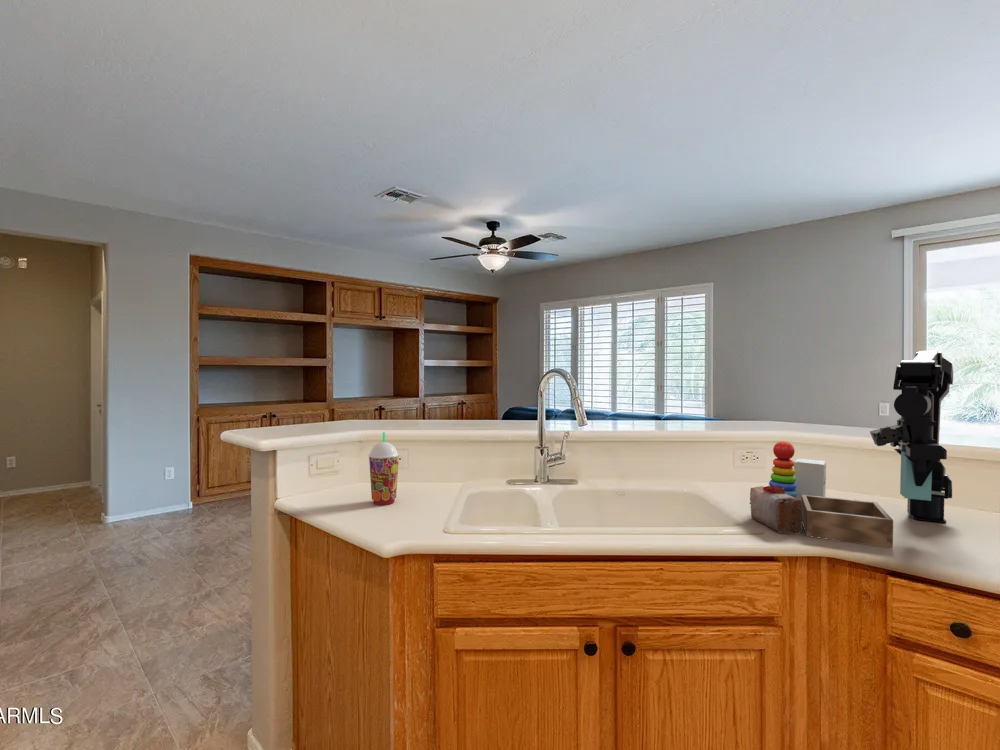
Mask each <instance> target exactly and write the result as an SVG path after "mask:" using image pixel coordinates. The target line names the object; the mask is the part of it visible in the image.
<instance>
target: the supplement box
mask: <svg viewBox="0 0 1000 750" xmlns="http://www.w3.org/2000/svg"><path fill="white" fill-rule="evenodd" d="M793 462H794V466H793V468H794V469H795V474H794V476H795V477H796V481H795V483H796V486H797V487H796V489H795V490H796V491H797V496H796V497H797V498H798V499H799V500H801V495H810V496H820V497H826V489H827V487H826V483H827V477H826V476H827V461H826V460H820V459H818V460H817V459H809V458H796V459H795V461H793Z"/></svg>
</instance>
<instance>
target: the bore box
mask: <svg viewBox="0 0 1000 750" xmlns="http://www.w3.org/2000/svg"><path fill="white" fill-rule="evenodd" d="M801 501H802V522H803V523H802V526H803V525H804V526H803V528H805V529H804V531H806V532H805V536H806V537H807V536H813V537H812V538H815V537H820V538H819V539H822V538H827V539H826V540H830V539H833V541H838V540H839V541H840V542H845V541H847V542H846V543H855V544H863V545H870V546H876V547H884V548H892V549H893V547H894V545H893V541H894V519H893V518H892V517H891V516H890V515H889V514H888V513H887V512H886V510H885V509H884V508H883V507H882V506H881V505H880V504H879V502H877V501H870V500H858V499H848V498H840V497H839V498H837V497H828V496H827V497H826V496H825V497H820V496H810V495H801Z"/></svg>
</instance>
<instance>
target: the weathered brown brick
mask: <svg viewBox="0 0 1000 750" xmlns="http://www.w3.org/2000/svg"><path fill="white" fill-rule="evenodd" d="M784 487H785V486H784ZM749 501H750V502H749V505H750V514H751V515H750V516H751V519H752V520H755V521H757V522H760V523H762V524H764V525H765V526H766V527H769V528H771V529H772V530H774V531H776V532H778V533H780V534H782V533H783V534H796V533H797V534H801V533H802V530H803V523H802V501H801V500H799V499H797V498H794V497H792V496H790V495H788V494H786V493H785V490H784V488H781V487H779V486H777V485H776V486H770V485H768V486H761V485H760V486H755V487H750V493H749ZM800 532H801V533H800Z"/></svg>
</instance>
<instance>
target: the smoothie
mask: <svg viewBox="0 0 1000 750" xmlns="http://www.w3.org/2000/svg"><path fill="white" fill-rule="evenodd" d="M399 456H400V453H399V452H398V451H397V448H396V447H395V445H394V444H393V443H391V442H388V441H386V432H385V431H383V432H382V441H380V442H378V443H376V444H375V445H374V446H372V449H371V451H370V453H369V454H368V461H369V462H368V463H369V473H370V475H369V477H370V493H371V500H372V501H373V504H375V505H377V506H387V505H391V504H394V502H395V499H396V498H397V492H398V491H397V489H398V488H397V487H398V472H399Z"/></svg>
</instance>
